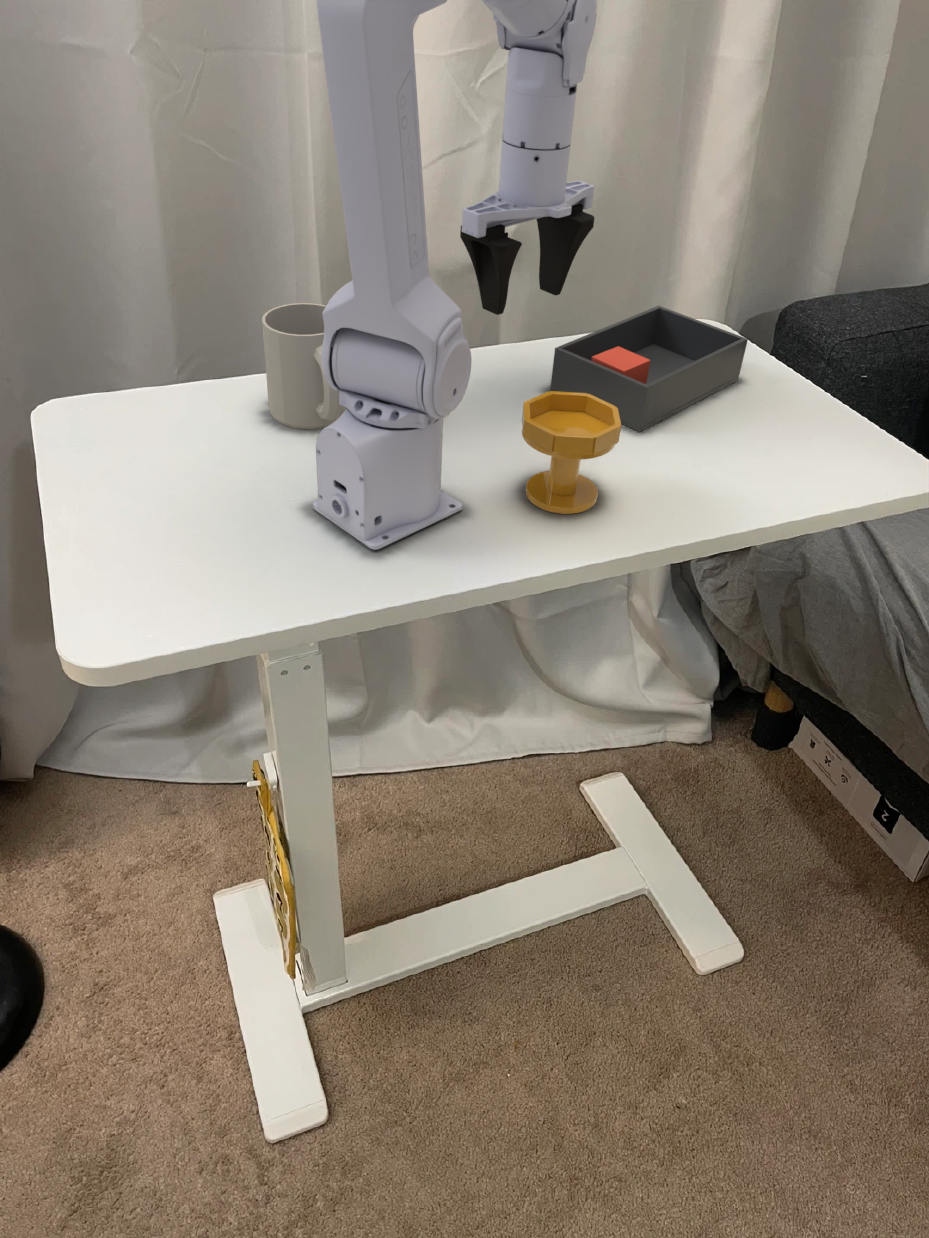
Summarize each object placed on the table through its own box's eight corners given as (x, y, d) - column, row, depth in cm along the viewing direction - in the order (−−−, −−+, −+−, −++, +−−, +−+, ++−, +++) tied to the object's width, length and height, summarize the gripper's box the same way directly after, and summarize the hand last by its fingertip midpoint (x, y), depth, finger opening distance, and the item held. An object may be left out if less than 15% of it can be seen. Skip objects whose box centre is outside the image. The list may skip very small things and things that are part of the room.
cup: (327, 388, 97) (324, 298, 91) (374, 434, 90) (374, 340, 84) (257, 403, 93) (249, 310, 88) (300, 451, 87) (294, 355, 81)
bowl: (564, 530, 79) (576, 447, 75) (497, 490, 84) (504, 409, 79) (625, 498, 84) (639, 417, 79) (558, 462, 88) (567, 383, 83)
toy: (617, 410, 95) (624, 371, 93) (586, 395, 97) (591, 356, 95) (643, 398, 97) (650, 360, 95) (612, 383, 99) (618, 345, 97)
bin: (639, 432, 93) (647, 387, 90) (549, 391, 99) (554, 348, 96) (738, 380, 103) (748, 338, 100) (651, 345, 108) (658, 305, 106)
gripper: (509, 166, 77) (497, 334, 85) (628, 140, 85) (606, 296, 94) (447, 145, 81) (441, 308, 89) (567, 122, 89) (550, 274, 97)
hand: (522, 301), depth 92 cm, fingers open, 7 cm apart
